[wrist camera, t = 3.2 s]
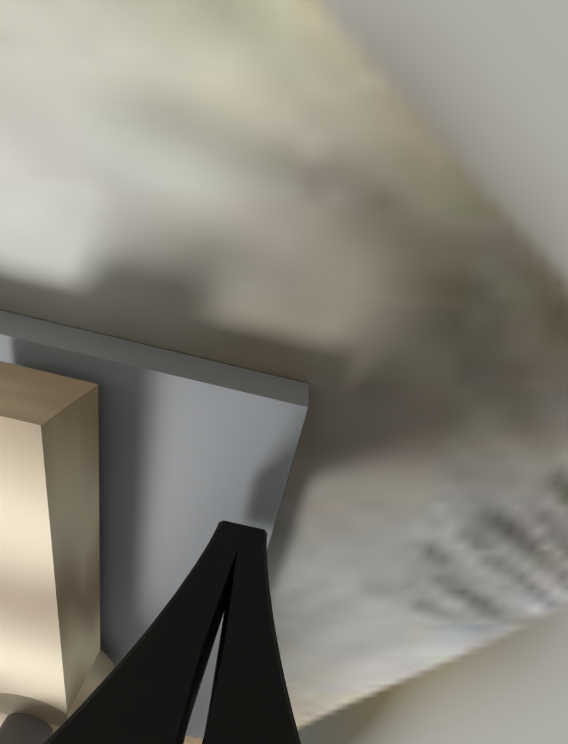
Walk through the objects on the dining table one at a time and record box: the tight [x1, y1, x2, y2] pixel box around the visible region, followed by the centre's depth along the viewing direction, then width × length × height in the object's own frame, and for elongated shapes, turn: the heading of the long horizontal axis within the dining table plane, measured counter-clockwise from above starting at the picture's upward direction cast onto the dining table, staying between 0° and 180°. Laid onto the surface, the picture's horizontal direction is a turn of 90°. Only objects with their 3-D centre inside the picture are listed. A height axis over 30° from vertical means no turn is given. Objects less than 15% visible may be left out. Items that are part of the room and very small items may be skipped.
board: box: [0, 310, 309, 739], centre depth 14 cm, size 20×20×2 cm
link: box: [0, 361, 115, 744], centre depth 10 cm, size 16×4×4 cm, turn 167°
